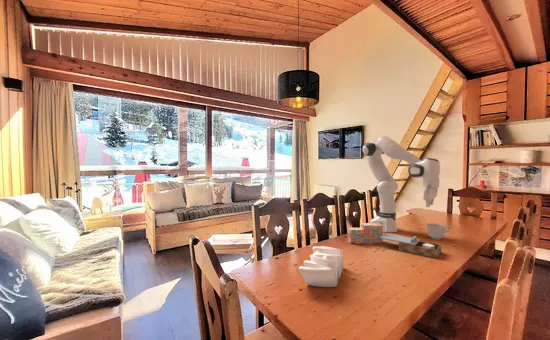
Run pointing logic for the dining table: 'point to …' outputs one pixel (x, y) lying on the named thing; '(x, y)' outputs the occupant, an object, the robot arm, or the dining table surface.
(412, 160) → the robot arm
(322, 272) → the wavy white extrusion
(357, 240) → the stack of blocks
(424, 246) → the cube
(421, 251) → the box
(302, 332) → the dining table surface
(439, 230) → the teacup
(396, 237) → the lid
